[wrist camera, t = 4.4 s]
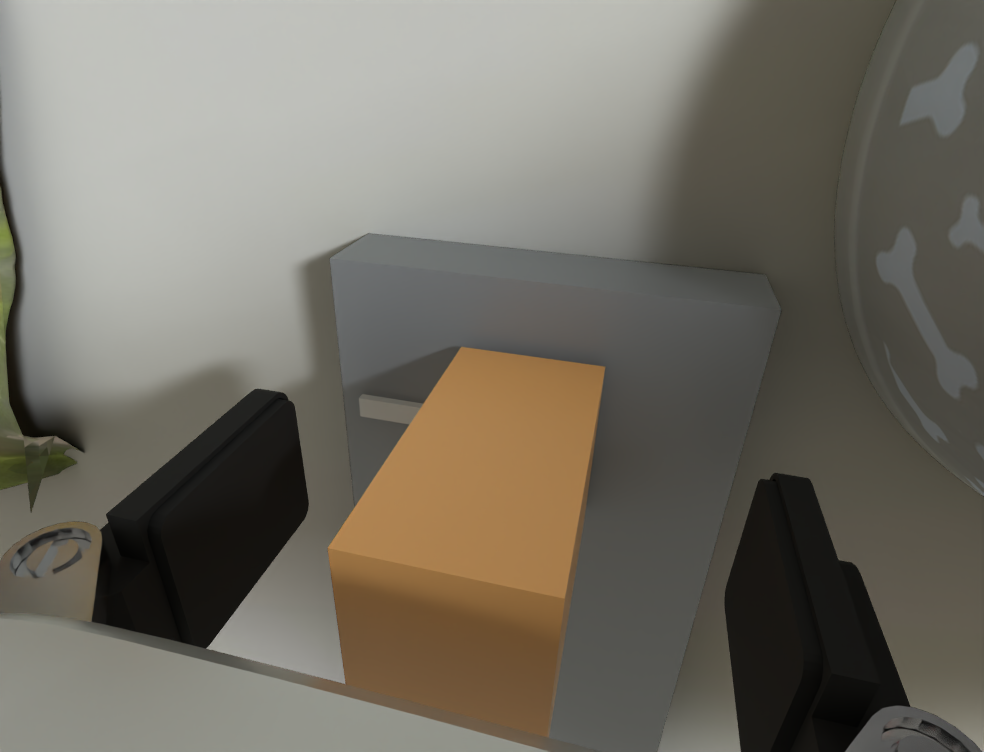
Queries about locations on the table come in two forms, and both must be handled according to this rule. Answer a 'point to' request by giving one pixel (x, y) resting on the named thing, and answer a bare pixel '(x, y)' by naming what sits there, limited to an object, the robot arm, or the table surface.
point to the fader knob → (473, 542)
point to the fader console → (619, 437)
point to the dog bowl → (920, 227)
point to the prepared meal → (3, 448)
